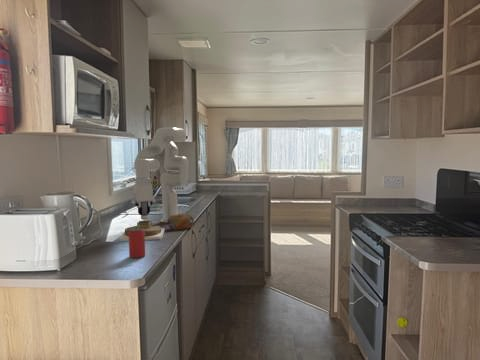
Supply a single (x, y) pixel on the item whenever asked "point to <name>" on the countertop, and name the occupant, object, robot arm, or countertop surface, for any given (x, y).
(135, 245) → the beer can
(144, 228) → the dial
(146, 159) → the robot arm
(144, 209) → the grey rounded cylinder
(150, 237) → the dial base
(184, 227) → the tin
